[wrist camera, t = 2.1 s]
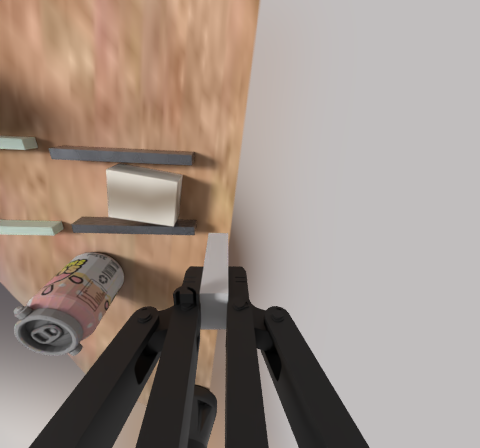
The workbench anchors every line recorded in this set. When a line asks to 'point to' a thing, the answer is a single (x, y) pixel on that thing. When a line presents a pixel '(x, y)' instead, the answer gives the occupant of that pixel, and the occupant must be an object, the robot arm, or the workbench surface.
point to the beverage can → (69, 305)
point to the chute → (132, 157)
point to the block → (143, 194)
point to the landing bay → (25, 225)
